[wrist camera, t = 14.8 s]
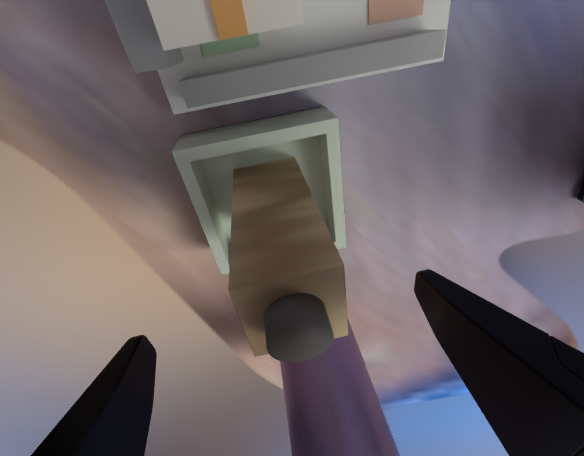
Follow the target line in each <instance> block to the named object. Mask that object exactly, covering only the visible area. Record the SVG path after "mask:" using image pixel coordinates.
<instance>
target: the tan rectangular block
mask: <svg viewBox="0 0 584 456" xmlns="http://www.w3.org/2000/svg"><path fill="white" fill-rule="evenodd" d="M229 293H230V295H231V298H232V300H233V303H234V305H235V308H236V310H237V313H238V315H239V318H240V320H241V323H242V326H243V328H244V331H245V333H246V336H247V338H248V341H249V343H250V346H251V348H252V351H253V353H254V356H255V357H256V356H260V355H264V354H270V355H271V356H272V357H273V358H275V359H277V360H279V361H283V362H290V363H295V362H303V361H307V360H310V359H313V358H315V357H317V356H319V355H321V354H322V353H324V352H325V351H326V350H327V349H328V348H329V347H330V346H331V344H332V342H333V339H334V338H339V337H343V336H347V335H348V320H347V304H346V288H345V272H344V264H343V262H342V259H341V257H340V255H339V253H338V251H337V248H336V246H335V244H334V242H333V240H332V237H331V235H330V233H329V231H328V229H327V226H326V224H325V222H324V220H323V218H322V215H321V213H320V211H319V209H318V207H317V204H316V202H315V200H314V198H313V196H312V194H311V191H310V189H309V187H308V185H307V183H306V180H305V178H304V176H303V174H302V172H301V169H300V167H299V165H298V163H297V161H296V158H295V157H292V158H288V159H283V160H278V161H273V162H268V163H263V164H258V165H253V166H248V167H243V168H238V169H233V192H232V217H231V242H230V266H229Z"/></svg>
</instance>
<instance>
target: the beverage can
mask: <svg viewBox="0 0 584 456" xmlns="http://www.w3.org/2000/svg"><path fill="white" fill-rule="evenodd" d="M347 320H348V318H347ZM280 364H281V372H282V380H283V388H284V396H285V404H286V411H287V419H288V427H289V435H290V443H291V451H292V456H400V454H399V451H398V449H397V446H396V443H395V441H394V438H393V436H392V433H391V431H390V428H389V425H388V423H387V420H386V417H385V415H384V412H383V409H382V407H381V404H380V402H379V399H378V396H377V394H376V391H375V389H374V386H373V383H372V381H371V378H370V375H369V373H368V370H367V368H366V365H365V362H364V360H363V357H362V355H361V352H360V349H359V347H358V344H357V341H356V339H355V336H354V334H353V331H352V328H351V326H350V323H349V321H348V335H347V336H343V337H339V338H334V339H333V342H332V344H331V346H330V347H329V348H328V349H327V350H326V351H325V352H324V353H322V354H321V355H319V356H317V357H315V358H313V359H310V360H307V361H303V362H295V363H290V362H283V361H280Z"/></svg>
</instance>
